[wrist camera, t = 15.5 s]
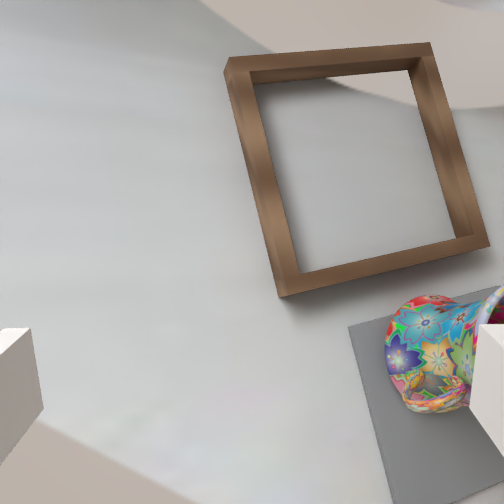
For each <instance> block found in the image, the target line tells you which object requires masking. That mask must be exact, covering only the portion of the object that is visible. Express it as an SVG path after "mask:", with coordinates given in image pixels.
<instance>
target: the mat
mask: <svg viewBox="0 0 504 504" xmlns="http://www.w3.org/2000/svg"><path fill="white" fill-rule="evenodd" d="M500 287H501V286H495V287H491V288H488V289H484V290H480V291H477V292H473V293H470V294H466V295H462V296H459V297H455V298H451V299H452V300H454V301H456V302H458V303H460V304H468V303H474V302H477V301H480V300H482V299H485V298H486V297H488V296H490V295H491V294H493V293H494V292H495V291H496V290H497V289H499V288H500ZM394 315H395V314H394ZM394 315H390V316H386V317H383V318H379V319H375V320H372V321H368V322H365V323H361V324H357V325H354V326H350V327H348V329H349V333H350V337H351V341H352V345H353V349H354V352H355V356H356V360H357V364H358V368H359V372H360V376H361V379H362V383H363V387H364V391H365V395H366V399H367V403H368V407H369V410H370V414H371V418H372V422H373V426H374V430H375V434H376V437H377V441H378V445H379V449H380V453H381V457H382V461H383V464H384V468H385V472H386V476H387V480H388V484H389V488H390V491H391V495H392V499H393V503H394V504H451V503H453V502H455V501H458V500H460V499H462V498H465V497H467V496H469V495H471V494H474V493H476V492H478V491H481V490H483V489H485V488H487V487H490V486H492V485H494V484H497V483H499V482H501V481H504V457H503V455H502V454H501V452H500V451H499V450H498V448H497V447H496V445H495V444H494V442H493V441H492V440H491V438H490V437H489V435H488V434H487V432H486V431H485V430H484V428H483V427H482V425H481V424H480V422H479V421H478V420H477V418H476V417H475V415H474V414H473V412H472V411H471V410H470V408H469V407H468V406H461V407H459V408H457V409H455V410H452V411H448V412H440V413H437V412H433V413H424V414H422V413H415V412H412V411H411V410H409V409H408V408H407V407H406V405H405V403H404V401H403V397H402V395H401V394H400V392H399V391H398V390H397V388H396V387H395V385H394V384H393V382H392V380H391V378H390V375H389V373H388V370H387V366H386V361H385V338H386V333H387V330H388V327H389V325H390V322H391V320H392V319H393V317H394Z"/></svg>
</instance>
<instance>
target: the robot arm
mask: <svg viewBox="0 0 504 504" xmlns="http://www.w3.org/2000/svg"><path fill="white" fill-rule="evenodd" d="M469 408H470V410H471V411H472V412H473V414H474V415H475V417H476V418H477V420H478V421H479V422H480V424H481V425H482V427H483V428H484V430H485V431H486V432H487V434H488V435H489V437H490V438H491V440H492V441H493V442H494V444H495V445H496V447H497V448H498V450H499V451H500V452H501V454H502V455H503V457H504V324H479V331H478V339H477V347H476V355H475V364H474V372H473V380H472V388H471V397H470V405H469ZM43 409H44V408H43V402H42V396H41V389H40V383H39V377H38V371H37V365H36V359H35V353H34V347H33V341H32V335H31V329H30V328H4V329H3V330H2V331H1V332H0V465H1V464H2V463H3V461H4V460H5V459H6V457H7V456H8V454H9V453H10V452H11V451H12V450H13V448H14V447H15V446H16V444H17V443H18V442H19V440H20V439H21V438H22V436H23V435H24V434H25V432H26V431H27V430H28V429H29V427H30V426H31V425H32V423H33V422H34V421H35V419H36V418H37V417H38V415H39V414H40V413H41V411H42V410H43Z"/></svg>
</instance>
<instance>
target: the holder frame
mask: <svg viewBox="0 0 504 504" xmlns="http://www.w3.org/2000/svg"><path fill="white" fill-rule="evenodd" d="M401 70H408V73H409V77H410V80H411V84H412V87H413V90H414V94H415V97H416V101H417V104H418V108H419V111H420V115H421V118H422V122H423V125H424V129H425V132H426V136H427V139H428V142H429V146H430V149H431V153H432V156H433V160H434V163H435V167H436V170H437V174H438V177H439V181H440V184H441V187H442V191H443V194H444V198H445V201H446V205H447V208H448V212H449V215H450V219H451V222H452V226H453V229H454V232H455V236H456V239H452V240H447V241H443V242H439V243H434V244H430V245H426V246H421V247H417V248H413V249H408V250H404V251H400V252H395V253H391V254H387V255H382V256H378V257H374V258H369V259H365V260H360V261H356V262H352V263H347V264H343V265H339V266H334V267H330V268H326V269H321V270H317V271H313V272H308V273H304V274H300V272H299V268H298V264H297V260H296V256H295V252H294V248H293V244H292V240H291V236H290V233H289V229H288V225H287V221H286V217H285V213H284V209H283V205H282V201H281V197H280V193H279V189H278V185H277V181H276V177H275V173H274V169H273V165H272V161H271V157H270V153H269V149H268V145H267V141H266V137H265V133H264V129H263V125H262V121H261V117H260V113H259V109H258V105H257V101H256V97H255V93H254V89H253V85H252V84H262V83H273V82H284V81H294V80H305V79H316V78H326V77H337V76H347V75H358V74H368V73H379V72H390V71H401ZM224 76H225V80H226V84H227V89H228V93H229V97H230V101H231V105H232V109H233V113H234V117H235V121H236V125H237V129H238V133H239V137H240V142H241V146H242V150H243V154H244V158H245V162H246V166H247V170H248V174H249V178H250V182H251V186H252V191H253V195H254V199H255V203H256V207H257V211H258V215H259V219H260V223H261V227H262V231H263V235H264V239H265V244H266V248H267V252H268V256H269V260H270V264H271V268H272V272H273V276H274V280H275V284H276V288H277V293H278V297H283V296H288V295H292V294H296V293H300V292H304V291H308V290H313V289H317V288H321V287H325V286H329V285H333V284H337V283H341V282H346V281H350V280H354V279H358V278H362V277H366V276H370V275H374V274H378V273H383V272H387V271H391V270H395V269H399V268H403V267H407V266H411V265H416V264H420V263H424V262H428V261H432V260H436V259H440V258H444V257H448V256H453V255H457V254H461V253H465V252H469V251H473V250H477V249H481V248H486V247H490V243H489V240H488V237H487V233H486V230H485V226H484V223H483V220H482V216H481V213H480V210H479V206H478V203H477V199H476V196H475V193H474V189H473V186H472V183H471V179H470V176H469V172H468V169H467V166H466V162H465V159H464V156H463V152H462V149H461V145H460V142H459V139H458V135H457V132H456V129H455V125H454V122H453V118H452V115H451V112H450V108H449V105H448V102H447V98H446V95H445V91H444V88H443V85H442V81H441V78H440V74H439V72H438V68H437V65H436V61H435V58H434V54H433V51H432V47H431V44H430V42H427V43H413V44H400V45H386V46H372V47H359V48H346V49H332V50H319V51H305V52H292V53H278V54H265V55H251V56H238V57H229V59H228V62H227V64H226V67H225V69H224Z"/></svg>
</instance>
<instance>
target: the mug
mask: <svg viewBox="0 0 504 504" xmlns="http://www.w3.org/2000/svg"><path fill="white" fill-rule="evenodd" d="M479 324H504V285H502V286H501V287H500V288H499V289H497V290H496V291H495V292H494V293H493V294H491V295H490V296H488V297H486V298H485V299H482V300H480V301H477V302H474V303H468V304H460V303H458V302H456V301H454V300H452V299H450V298H447V297H444V296H440V295H424V296H420V297H417V298H414V299H412V300H410V301H409V302H407V303H406V304H405V305H403V306H402V307H401V308H400V309H399V310H398V311H397V313H396V314H395V315H394V317H393V319H392V320H391V322H390V325H389V327H388V330H387V333H386V338H385V361H386V366H387V370H388V373H389V375H390V378H391V380H392V382H393V384H394V385H395V387H396V388H397V390H398V391H399V392H400V394H401V395H402V397H403V401H404V403H405V405H406V407H407V408H408V409H409V410H411V411H412V412H415V413H422V414H424V413H433V412H437V413H440V412H448V411H452V410H455V409H457V408H459V407H461V406H468V407H469V405H470V397H471V388H472V380H473V372H474V364H475V355H476V347H477V339H478V331H479Z"/></svg>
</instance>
